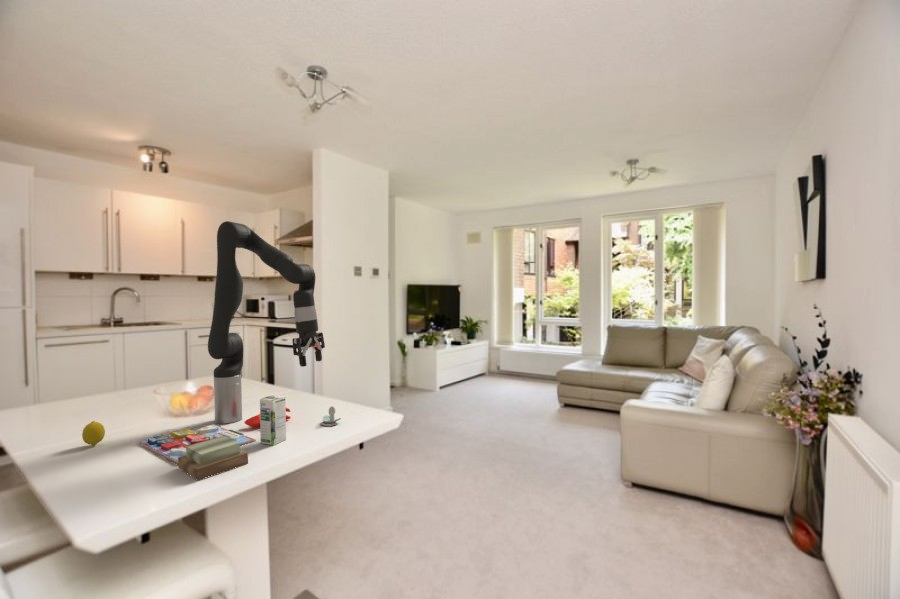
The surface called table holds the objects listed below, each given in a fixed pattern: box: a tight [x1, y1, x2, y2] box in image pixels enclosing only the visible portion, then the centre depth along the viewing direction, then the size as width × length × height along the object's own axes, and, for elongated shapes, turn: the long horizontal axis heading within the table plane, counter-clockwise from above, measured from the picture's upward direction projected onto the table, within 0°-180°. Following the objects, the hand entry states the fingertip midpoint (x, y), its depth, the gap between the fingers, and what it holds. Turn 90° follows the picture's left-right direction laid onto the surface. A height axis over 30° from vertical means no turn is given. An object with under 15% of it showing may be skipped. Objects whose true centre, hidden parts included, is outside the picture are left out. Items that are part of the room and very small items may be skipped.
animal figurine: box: [244, 407, 291, 429], centre depth 151 cm, size 12×15×5 cm
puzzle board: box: [138, 423, 257, 466], centre depth 135 cm, size 30×23×3 cm
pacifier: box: [320, 406, 342, 427], centre depth 151 cm, size 7×6×6 cm
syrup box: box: [259, 395, 287, 446], centre depth 134 cm, size 6×6×14 cm
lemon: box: [82, 420, 106, 447], centre depth 133 cm, size 6×6×8 cm
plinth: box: [177, 436, 249, 481], centre depth 116 cm, size 13×13×6 cm
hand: (311, 363), depth 149 cm, fingers open, 8 cm apart
